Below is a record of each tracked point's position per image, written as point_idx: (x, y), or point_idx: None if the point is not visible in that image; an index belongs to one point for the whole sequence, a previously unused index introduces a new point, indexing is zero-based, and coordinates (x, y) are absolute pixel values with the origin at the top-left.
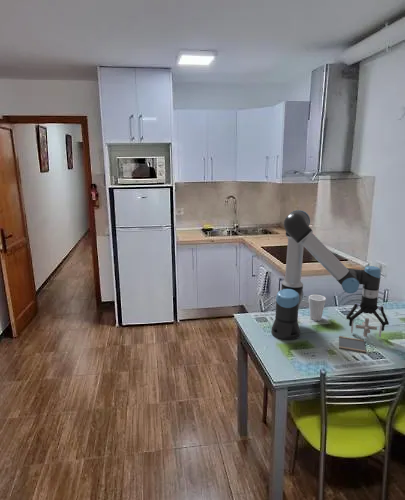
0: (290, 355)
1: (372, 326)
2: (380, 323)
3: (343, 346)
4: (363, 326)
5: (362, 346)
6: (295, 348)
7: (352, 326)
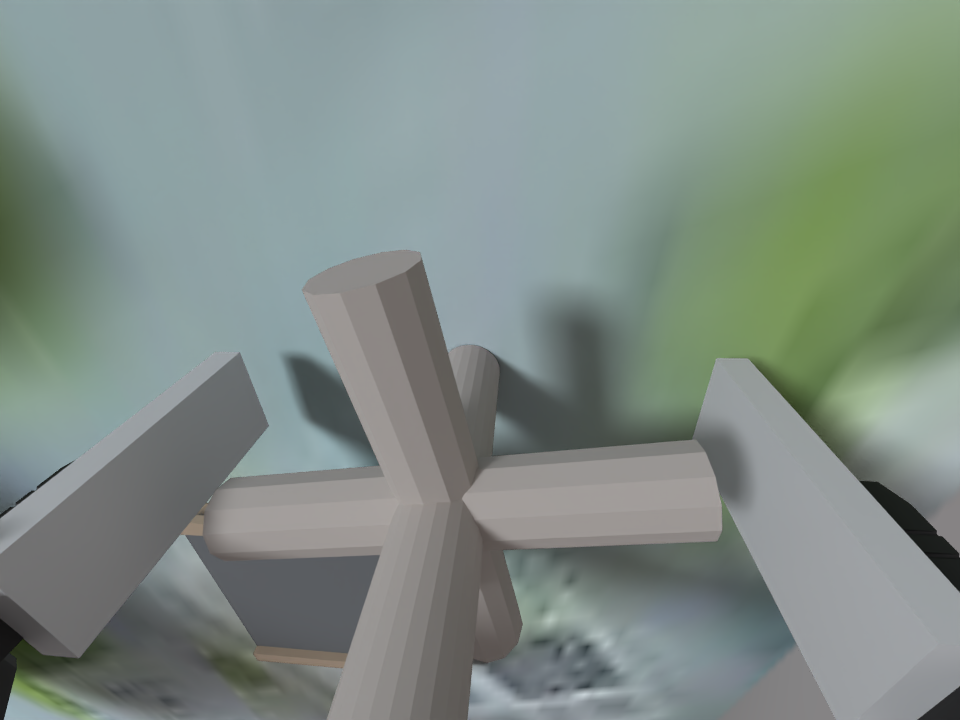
0: (75, 709)
1: (595, 541)
2: (940, 655)
3: (285, 637)
4: (375, 554)
5: None
6: (36, 667)
7: (176, 521)
